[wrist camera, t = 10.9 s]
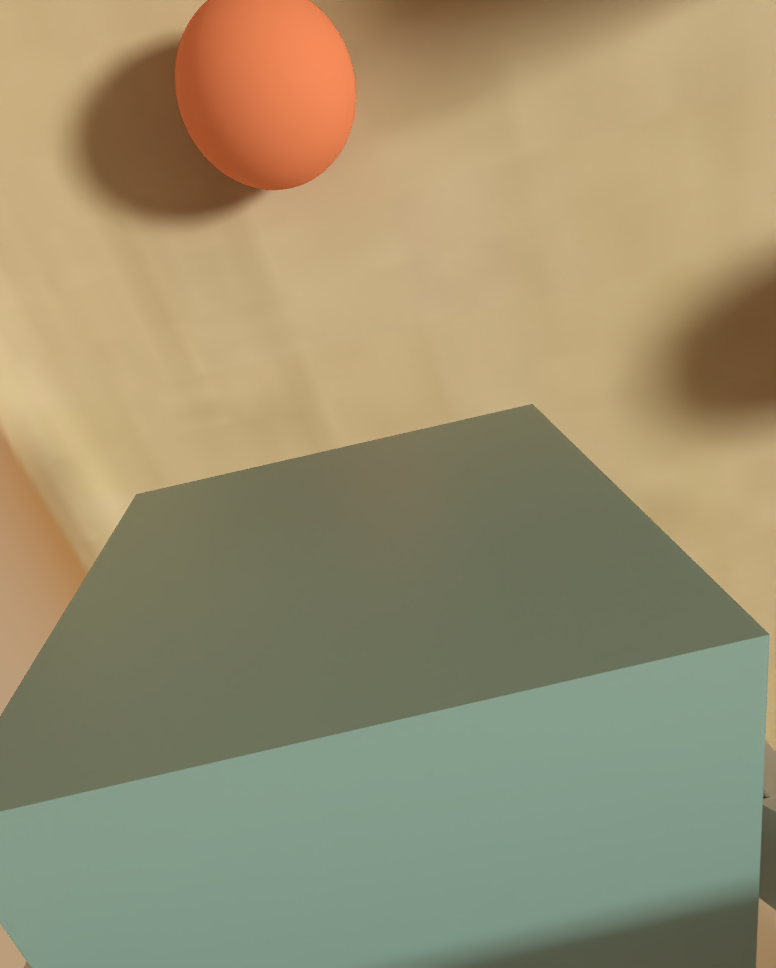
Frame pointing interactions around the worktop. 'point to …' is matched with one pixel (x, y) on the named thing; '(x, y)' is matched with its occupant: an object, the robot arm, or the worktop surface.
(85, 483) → the worktop surface
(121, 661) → the teal eraser-like brick
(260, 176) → the ball
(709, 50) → the worktop surface
